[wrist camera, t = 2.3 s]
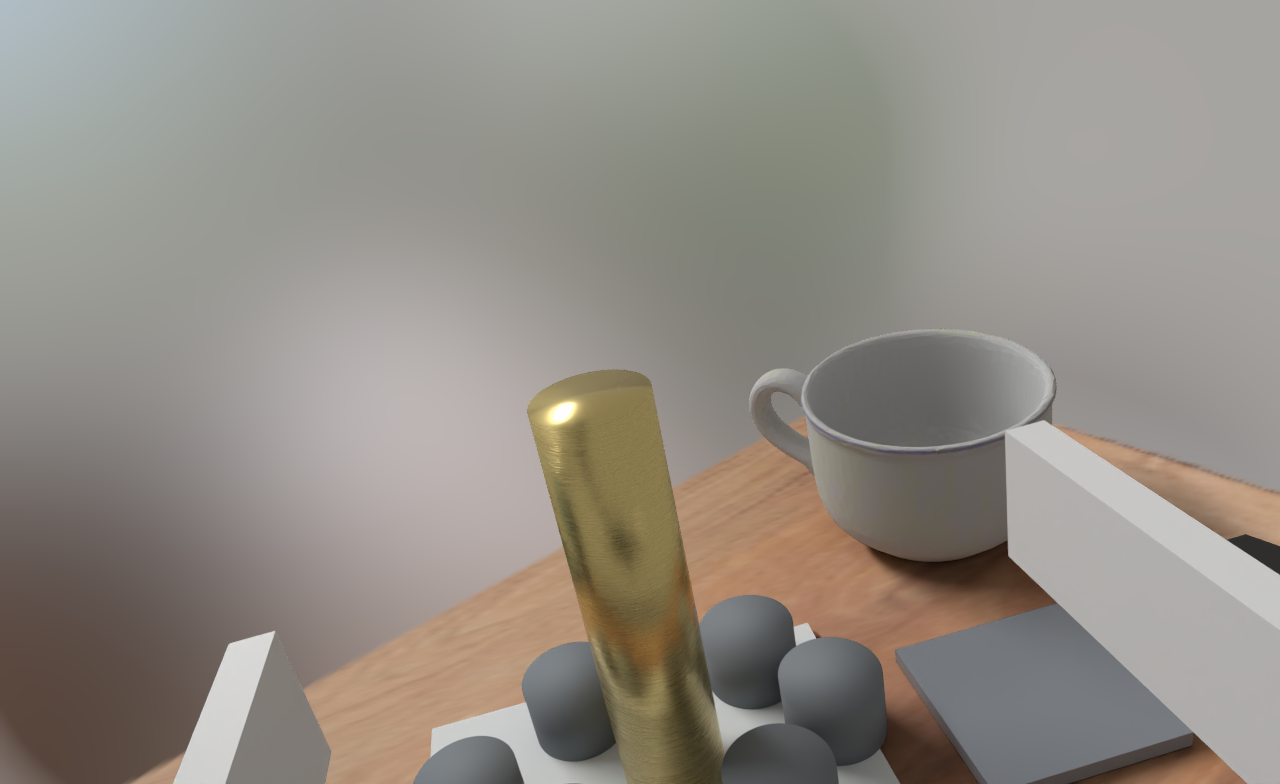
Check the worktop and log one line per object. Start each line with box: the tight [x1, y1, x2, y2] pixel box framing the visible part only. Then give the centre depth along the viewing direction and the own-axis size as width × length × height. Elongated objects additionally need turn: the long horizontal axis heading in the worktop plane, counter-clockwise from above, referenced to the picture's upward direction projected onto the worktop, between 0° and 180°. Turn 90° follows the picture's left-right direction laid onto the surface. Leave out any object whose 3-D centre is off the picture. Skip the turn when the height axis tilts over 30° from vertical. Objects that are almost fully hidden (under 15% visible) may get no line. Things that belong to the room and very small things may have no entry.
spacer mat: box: [413, 595, 900, 784], centre depth 30 cm, size 17×11×3 cm, turn 101°
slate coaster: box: [895, 603, 1194, 784], centre depth 31 cm, size 7×7×1 cm
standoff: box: [527, 370, 725, 784], centre depth 28 cm, size 4×4×15 cm
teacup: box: [749, 329, 1056, 562], centre depth 41 cm, size 14×11×8 cm
